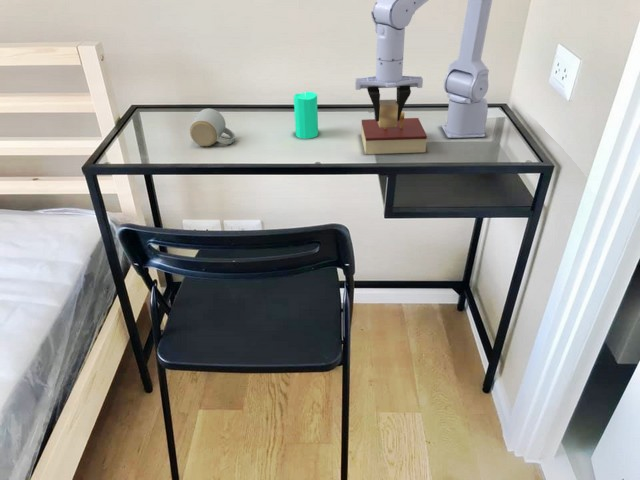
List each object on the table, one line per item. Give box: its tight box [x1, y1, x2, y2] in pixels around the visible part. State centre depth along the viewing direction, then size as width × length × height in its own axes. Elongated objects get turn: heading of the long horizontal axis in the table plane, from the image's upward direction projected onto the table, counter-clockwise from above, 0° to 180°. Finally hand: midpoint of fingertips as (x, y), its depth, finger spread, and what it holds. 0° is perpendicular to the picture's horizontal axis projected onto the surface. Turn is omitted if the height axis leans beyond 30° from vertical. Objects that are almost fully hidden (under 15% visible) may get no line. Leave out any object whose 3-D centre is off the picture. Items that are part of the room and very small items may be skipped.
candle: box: [293, 91, 319, 140], centre depth 137 cm, size 6×6×12 cm
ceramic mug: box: [189, 108, 236, 147], centre depth 136 cm, size 11×8×8 cm
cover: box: [361, 111, 428, 141], centre depth 130 cm, size 13×15×5 cm
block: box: [378, 98, 398, 127], centre depth 120 cm, size 4×4×5 cm
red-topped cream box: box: [360, 122, 428, 155], centre depth 133 cm, size 12×15×4 cm
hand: (387, 119), depth 120 cm, fingers closed on block, 4 cm apart
